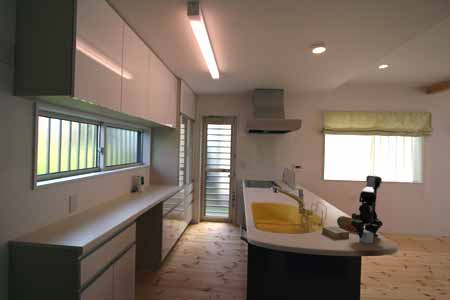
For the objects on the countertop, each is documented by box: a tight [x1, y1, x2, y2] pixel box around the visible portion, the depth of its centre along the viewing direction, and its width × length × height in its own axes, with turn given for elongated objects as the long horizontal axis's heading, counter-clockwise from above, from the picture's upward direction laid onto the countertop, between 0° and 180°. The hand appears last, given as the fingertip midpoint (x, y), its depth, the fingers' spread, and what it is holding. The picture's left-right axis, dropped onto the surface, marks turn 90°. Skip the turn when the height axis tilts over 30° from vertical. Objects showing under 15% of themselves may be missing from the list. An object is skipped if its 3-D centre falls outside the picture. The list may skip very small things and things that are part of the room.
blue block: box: [358, 229, 374, 244], centre depth 141 cm, size 5×5×6 cm
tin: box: [336, 215, 359, 232], centre depth 164 cm, size 15×3×8 cm, turn 45°
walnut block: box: [321, 225, 350, 240], centre depth 151 cm, size 11×11×4 cm
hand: (366, 237), depth 142 cm, fingers open, 9 cm apart
